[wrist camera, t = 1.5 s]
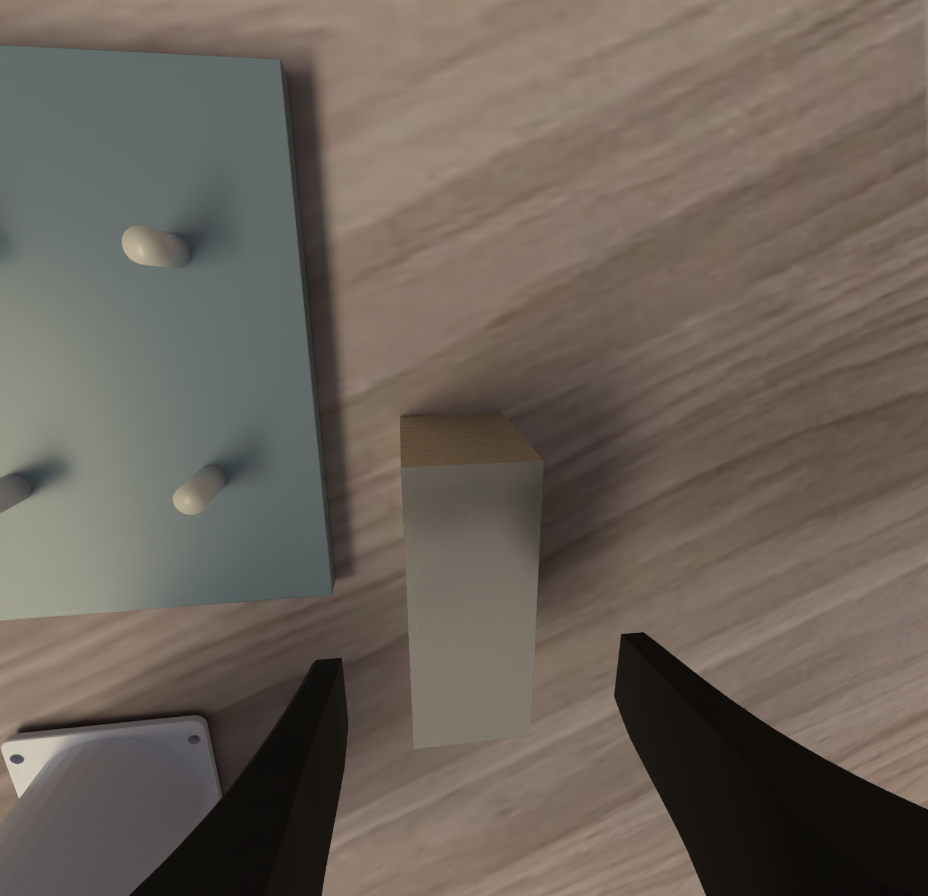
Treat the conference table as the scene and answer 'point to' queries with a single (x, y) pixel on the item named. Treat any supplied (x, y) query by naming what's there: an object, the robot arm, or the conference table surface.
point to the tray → (153, 337)
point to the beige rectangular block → (470, 575)
